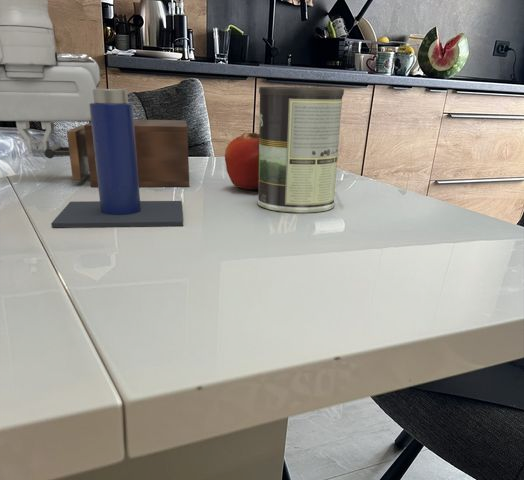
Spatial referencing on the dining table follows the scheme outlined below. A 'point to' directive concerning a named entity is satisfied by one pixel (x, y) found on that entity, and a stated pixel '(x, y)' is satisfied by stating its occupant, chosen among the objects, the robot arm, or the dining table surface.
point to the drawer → (73, 152)
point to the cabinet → (153, 153)
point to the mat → (93, 217)
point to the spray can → (115, 151)
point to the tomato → (243, 161)
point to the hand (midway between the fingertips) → (39, 152)
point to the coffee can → (298, 148)
